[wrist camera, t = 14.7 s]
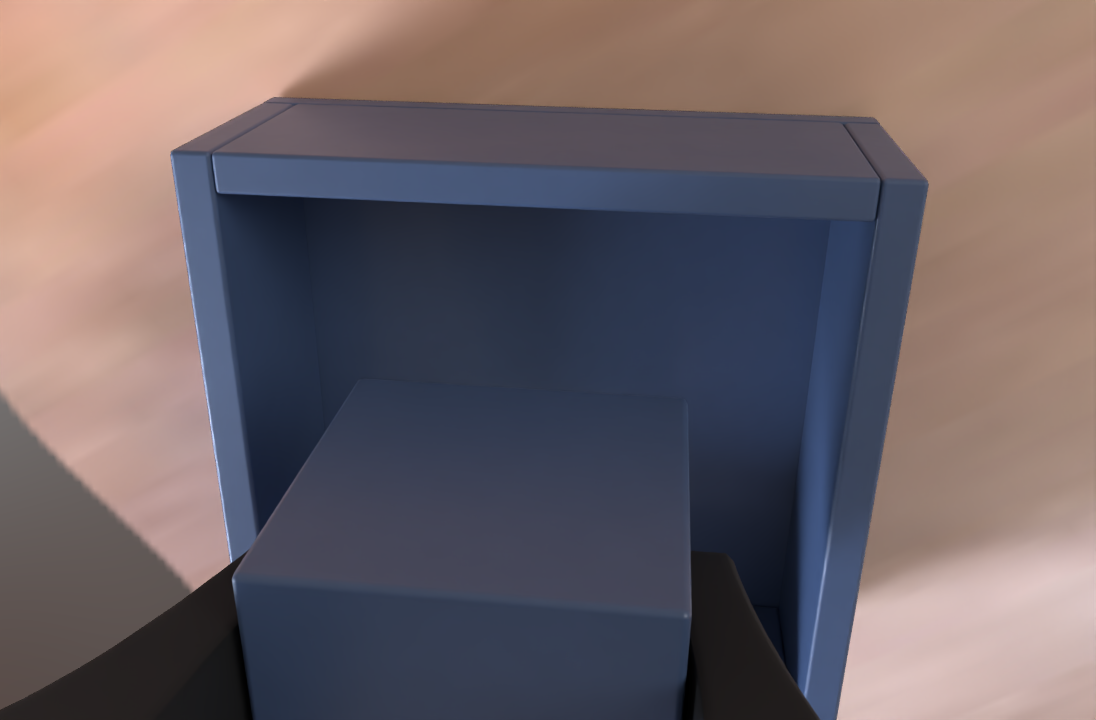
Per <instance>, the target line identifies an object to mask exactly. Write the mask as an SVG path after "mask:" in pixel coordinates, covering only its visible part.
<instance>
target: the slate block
mask: <svg viewBox="0 0 1096 720" xmlns="http://www.w3.org/2000/svg"><path fill="white" fill-rule="evenodd" d="M232 584H233V591H234V597H235V604H236V611H237V618H238V624H239V631H240V638H241V644H242V651H243V658H244V665H245V671H246V678H247V685H248V691H249V698H250V705H251V712H252V718H253V720H683V710H684V699H685V688H686V676H687V665H688V654H689V642H690V631H691V620H692V599H691V545H690V492H689V438H688V404H687V402H686V400H685V399H682V398H670V397H654V396H638V395H622V394H606V393H589V392H573V391H557V390H541V389H525V388H508V387H492V386H476V385H460V384H444V383H427V382H411V381H395V380H379V379H360V380H358V381H357V383H356V385H355V386H354V388H353V389H352V391H351V392H350V394H349V395H348V397H347V398H346V400H345V402H344V403H343V405H342V406H341V408H340V409H339V411H338V412H337V414H336V416H335V417H334V419H333V420H332V422H331V423H330V425H329V426H328V428H327V430H326V431H325V433H324V434H323V436H322V437H321V439H320V440H319V442H318V443H317V445H316V447H315V448H314V450H313V451H312V453H311V454H310V456H309V457H308V459H307V461H306V462H305V464H304V465H303V467H302V468H301V470H300V471H299V473H298V474H297V476H296V478H295V479H294V481H293V482H292V484H291V485H290V487H289V488H288V490H287V492H286V493H285V495H284V496H283V498H282V499H281V501H280V502H279V504H278V506H277V507H276V509H275V510H274V512H273V513H272V515H271V516H270V518H269V519H268V521H267V523H266V524H265V526H264V527H263V529H262V530H261V532H260V533H259V535H258V537H257V538H256V540H255V541H254V543H253V544H252V546H251V547H250V549H249V550H248V552H247V554H246V555H245V557H244V558H243V560H242V561H241V563H240V564H239V566H238V568H237V569H236V571H235V572H234V574H233V577H232Z"/></svg>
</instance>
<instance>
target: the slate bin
mask: <svg viewBox="0 0 1096 720" xmlns="http://www.w3.org/2000/svg"><path fill="white" fill-rule="evenodd" d="M171 162H172V169H173V176H174V183H175V189H176V196H177V203H178V210H179V217H180V223H181V230H182V237H183V244H184V250H185V257H186V264H187V271H188V278H189V284H190V291H191V298H192V305H193V312H194V318H195V325H196V332H197V339H198V345H199V352H200V359H201V366H202V373H203V379H204V386H205V393H206V400H207V406H208V413H209V420H210V427H211V434H212V440H213V447H214V454H215V461H216V467H217V474H218V481H219V488H220V495H221V501H222V508H223V515H224V522H225V528H226V535H227V542H228V549H229V556H230V562H231V563H232V562H234V561H235V560H236V559H237V558H239V557H240V556H241V555H243V554H244V553H245V552H247V551H248V550H249V549H250V547H251V546H252V544H253V543H254V541H255V540H256V538H257V537H258V535H259V533H260V532H261V530H262V529H263V527H264V526H265V524H266V523H267V521H268V519H269V518H270V516H271V515H272V513H273V512H274V510H275V509H276V507H277V506H278V504H279V502H280V501H281V499H282V498H283V496H284V495H285V493H286V492H287V490H288V488H289V487H290V485H291V484H292V482H293V481H294V479H295V478H296V476H297V474H298V473H299V471H300V470H301V468H302V467H303V465H304V464H305V462H306V461H307V459H308V457H309V456H310V454H311V453H312V451H313V450H314V448H315V447H316V445H317V443H318V442H319V440H320V439H321V437H322V436H323V434H324V433H325V431H326V430H327V428H328V426H329V425H330V423H331V422H332V420H333V419H334V417H335V416H336V414H337V412H338V411H339V409H340V408H341V406H342V405H343V403H344V402H345V400H346V398H347V397H348V395H349V394H350V392H351V391H352V389H353V388H354V386H355V385H356V383H357V381H358V380H360V379H379V380H395V381H411V382H427V383H444V384H460V385H476V386H492V387H508V388H525V389H541V390H557V391H573V392H589V393H606V394H622V395H638V396H654V397H670V398H682V399H685V400H686V402H687V404H688V438H689V492H690V545H691V551H703V552H716V553H726V554H727V555H728V556H729V557H730V558H731V559H732V560H733V561H734V563H735V567H736V570H737V572H738V575H739V577H740V580H741V582H742V585H743V587H744V589H745V591H746V594H747V596H748V598H749V600H750V602H751V604H752V606H753V608H754V610H755V612H756V614H757V616H758V618H759V620H760V622H761V624H762V626H763V628H764V630H765V632H766V633H767V635H768V637H769V639H770V641H771V642H772V644H773V646H774V647H775V649H776V651H777V653H778V654H779V656H780V658H781V659H782V661H783V663H784V665H785V666H786V668H787V670H788V671H789V673H790V675H791V676H792V678H793V679H794V681H795V683H796V684H797V686H798V687H799V689H800V690H801V692H802V693H803V695H804V696H805V698H806V699H807V701H808V702H809V704H810V705H811V707H812V708H813V710H814V711H815V713H816V714H817V715H818V717H819V718H820V720H836V719H837V713H838V708H839V702H840V696H841V690H842V684H843V679H844V673H845V667H846V661H847V655H848V650H849V644H850V638H851V632H852V626H853V621H854V615H855V609H856V603H857V597H858V592H859V586H860V580H861V574H862V568H863V563H864V557H865V551H866V545H867V539H868V534H869V528H870V522H871V516H872V510H873V505H874V499H875V493H876V487H877V481H878V476H879V470H880V464H881V458H882V452H883V447H884V441H885V435H886V429H887V423H888V418H889V412H890V406H891V400H892V394H893V389H894V383H895V377H896V371H897V365H898V360H899V354H900V348H901V342H902V336H903V331H904V325H905V319H906V313H907V307H908V302H909V296H910V290H911V284H912V278H913V273H914V267H915V261H916V255H917V249H918V244H919V238H920V232H921V226H922V220H923V215H924V209H925V203H926V197H927V191H928V186H929V184H928V181H927V180H926V178H925V177H924V176H923V175H922V174H921V172H920V171H919V170H918V169H917V168H916V167H915V165H914V164H913V163H912V162H911V161H910V159H909V158H908V157H907V156H906V155H905V153H904V152H903V151H902V150H901V149H900V148H899V146H898V145H897V144H896V143H895V142H894V140H893V139H892V138H891V137H890V136H889V135H888V133H887V132H886V131H885V130H884V129H883V127H882V126H881V125H880V123H879V122H878V121H877V120H876V119H875V118H873V117H845V116H815V115H786V114H756V113H726V112H697V111H667V110H637V109H608V108H578V107H548V106H519V105H489V104H460V103H430V102H400V101H371V100H341V99H311V98H282V97H274V98H271V99H269V100H267V101H266V102H264V103H263V104H260V105H259V106H257V107H255V108H253V109H251V110H249V111H247V112H245V113H243V114H241V115H239V116H237V117H236V118H234V119H232V120H230V121H228V122H226V123H224V124H222V125H220V126H218V127H216V128H214V129H213V130H211V131H209V132H207V133H205V134H203V135H201V136H199V137H197V138H195V139H193V140H191V141H190V142H188V143H186V144H184V145H182V146H180V147H178V148H176V149H174V150H172V151H171Z"/></svg>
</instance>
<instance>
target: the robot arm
mask: <svg viewBox="0 0 1096 720" xmlns="http://www.w3.org/2000/svg"><path fill="white" fill-rule="evenodd" d="M247 552H248V551H247ZM247 552H245V553H244V554H243V555H241V556H240V557H239V558H237V559H236V560H235V561H234V562H232V563H231V564H230V565H228V566H227V567H226V568H224V569H223V570H222V571H220V572H219V573H218V574H216V575H215V576H214V577H212V578H211V579H210V580H208V581H207V582H206V583H204V584H203V585H202V586H200V587H199V588H198V589H196V590H195V591H194V592H192V593H191V594H190V595H188V596H187V597H186V598H184V599H183V600H182V601H180V602H179V603H177V604H176V605H175V606H173V607H172V608H170V609H169V610H167V611H166V612H164V613H163V614H161V615H160V616H158V617H157V618H155V619H154V620H152V621H151V622H150V623H148V624H147V625H145V626H144V627H142V628H141V629H139V630H138V631H136V632H135V633H133V634H132V635H130V636H129V637H127V638H126V639H124V640H123V641H122V642H120V643H119V644H117V645H116V646H114V647H113V648H111V649H109V650H108V651H106V652H105V653H103V654H102V655H100V656H98V657H96V658H95V659H93V660H91V661H90V662H88V663H87V664H85V665H83V666H82V667H80V668H78V669H76V670H75V671H73V672H71V673H69V674H68V675H66V676H64V677H62V678H60V679H59V680H57V681H55V682H53V683H52V684H50V685H48V686H46V687H44V688H43V689H41V690H39V691H37V692H35V693H33V694H31V695H29V696H28V697H26V698H24V699H22V700H20V701H18V702H16V703H13V704H11V705H9V706H7V707H5V708H3V709H1V710H0V720H253V718H252V712H251V705H250V698H249V691H248V685H247V678H246V671H245V665H244V658H243V651H242V644H241V638H240V631H239V624H238V618H237V611H236V604H235V597H234V591H233V584H232V577H233V574H234V572H235V571H236V569H237V568H238V566H239V564H240V563H241V561H242V560H243V558H244V557H245V555H246V554H247ZM691 599H692V620H691V631H690V642H689V654H688V665H687V676H686V688H685V699H684V710H683V720H820V718H819V717H818V715H817V714H816V713H815V711H814V710H813V708H812V707H811V705H810V704H809V702H808V701H807V699H806V698H805V696H804V695H803V693H802V692H801V690H800V689H799V687H798V686H797V684H796V683H795V681H794V679H793V678H792V676H791V675H790V673H789V671H788V670H787V668H786V666H785V665H784V663H783V661H782V659H781V658H780V656H779V654H778V653H777V651H776V649H775V647H774V646H773V644H772V642H771V641H770V639H769V637H768V635H767V633H766V632H765V630H764V628H763V626H762V624H761V622H760V620H759V618H758V616H757V614H756V612H755V610H754V608H753V606H752V604H751V602H750V600H749V598H748V596H747V594H746V591H745V589H744V587H743V585H742V582H741V580H740V577H739V575H738V572H737V570H736V567H735V563H734V561H733V560H732V559H731V558H730V557H729V556H728V555H727V554H726V553H716V552H703V551H691Z"/></svg>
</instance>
